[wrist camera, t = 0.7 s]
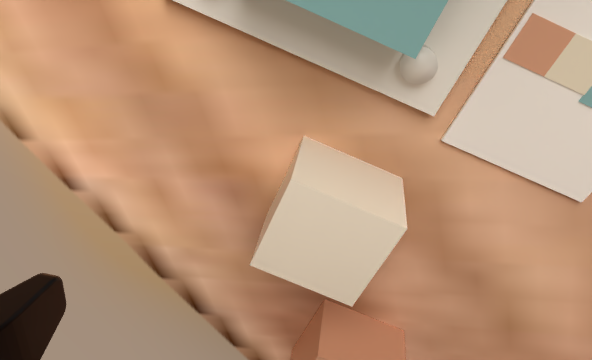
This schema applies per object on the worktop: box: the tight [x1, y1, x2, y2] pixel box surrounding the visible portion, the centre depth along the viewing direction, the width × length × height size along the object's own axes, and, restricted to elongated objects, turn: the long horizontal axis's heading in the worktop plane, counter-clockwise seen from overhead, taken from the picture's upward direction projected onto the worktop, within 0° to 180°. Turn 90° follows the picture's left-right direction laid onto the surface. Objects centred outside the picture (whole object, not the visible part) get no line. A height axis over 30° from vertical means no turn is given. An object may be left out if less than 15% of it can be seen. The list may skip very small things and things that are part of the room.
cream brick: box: [250, 136, 407, 306], centre depth 21 cm, size 5×5×4 cm
